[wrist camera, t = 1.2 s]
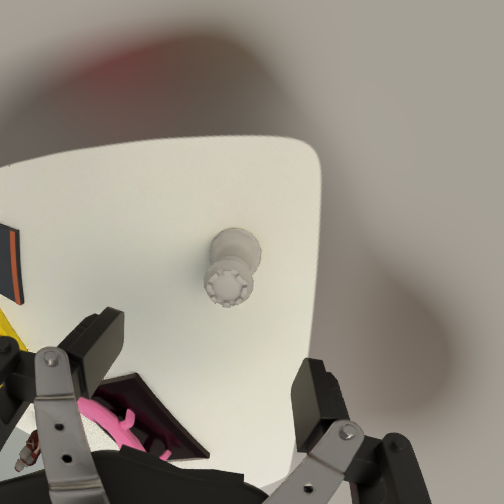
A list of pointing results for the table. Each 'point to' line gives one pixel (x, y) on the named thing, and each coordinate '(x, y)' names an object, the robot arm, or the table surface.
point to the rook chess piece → (232, 267)
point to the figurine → (29, 452)
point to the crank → (9, 331)
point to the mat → (10, 265)
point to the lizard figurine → (139, 420)
